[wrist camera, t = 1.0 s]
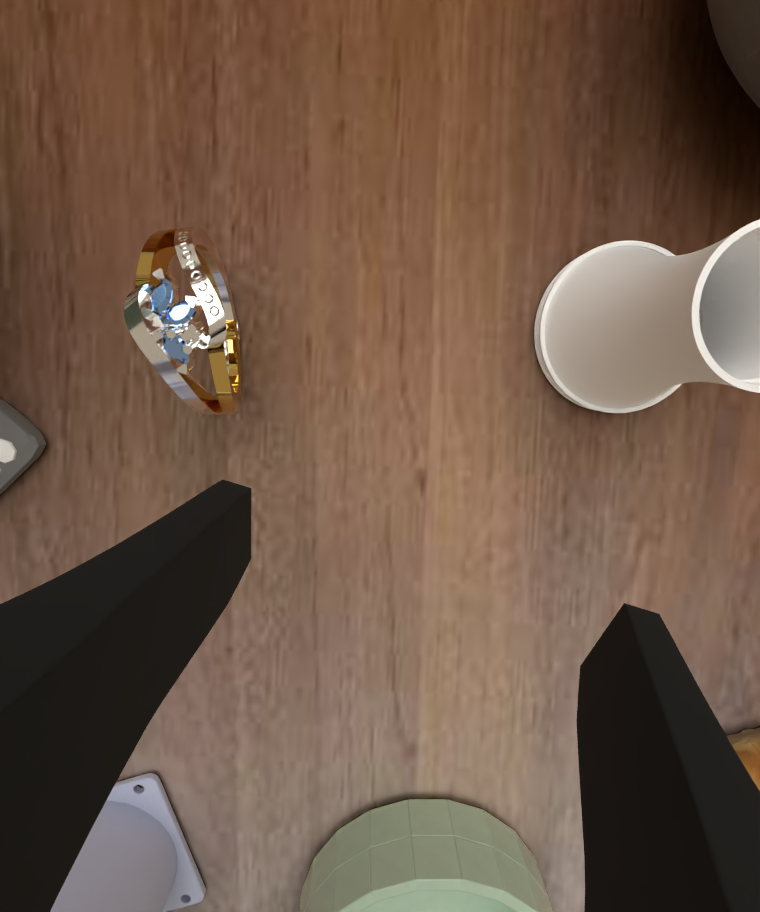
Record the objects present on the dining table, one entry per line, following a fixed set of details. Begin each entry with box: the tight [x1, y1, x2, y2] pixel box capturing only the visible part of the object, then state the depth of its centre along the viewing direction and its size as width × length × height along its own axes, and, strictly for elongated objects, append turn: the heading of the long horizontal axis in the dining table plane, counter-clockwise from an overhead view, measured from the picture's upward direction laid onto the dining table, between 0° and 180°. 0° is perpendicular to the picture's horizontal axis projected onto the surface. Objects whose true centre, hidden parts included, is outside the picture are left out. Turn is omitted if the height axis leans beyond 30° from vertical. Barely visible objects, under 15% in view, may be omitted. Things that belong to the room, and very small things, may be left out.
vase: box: [534, 220, 760, 413], centre depth 20 cm, size 8×8×10 cm
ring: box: [124, 227, 242, 415], centre depth 20 cm, size 7×3×8 cm, turn 4°
